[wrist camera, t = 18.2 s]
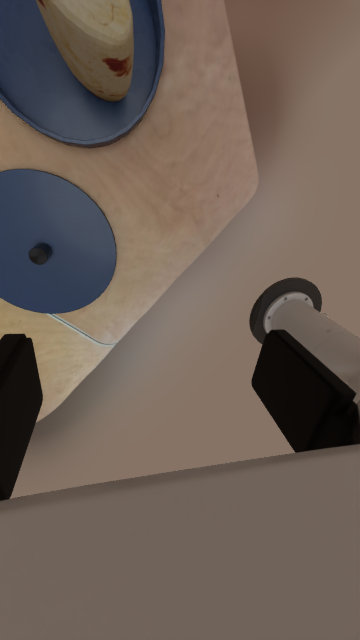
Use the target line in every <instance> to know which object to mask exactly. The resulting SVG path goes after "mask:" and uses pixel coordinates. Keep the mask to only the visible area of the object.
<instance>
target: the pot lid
mask: <svg viewBox="0 0 360 640" xmlns="http://www.w3.org/2000/svg"><path fill="white" fill-rule="evenodd" d="M115 265H116V244H115V239H114V235H113V232H112V230H111V227H110V225H109V223H108V221H107V219H106V217H105V216H104V214H103V212H102V211H101V209H100V208H99V207H98V206H97V204H96V203H95V202H94V201H93V200H92V199H91V198H90V197H89V196H88V195H87V194H86V193H85V192H83V191H82V190H81V189H79V188H78V187H77V186H75V185H74V184H72V183H70V182H69V181H67V180H65V179H63V178H61V177H58V176H56V175H53V174H50V173H47V172H43V171H38V170H32V169H14V170H7V171H3V172H0V298H2V299H4V300H5V301H7V302H9V303H11V304H13V305H15V306H17V307H20V308H23V309H26V310H30V311H33V312H39V313H49V314H56V313H66V312H71V311H74V310H78V309H80V308H82V307H85V306H87V305H88V304H90V303H92V302H93V301H94V300H96V299H97V298H98V297H99V296H100V295H101V294H102V293H103V292H104V291H105V289H106V288H107V286H108V285H109V283H110V281H111V279H112V276H113V274H114V270H115Z"/></svg>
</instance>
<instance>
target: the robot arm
mask: <svg viewBox="0 0 360 640" xmlns="http://www.w3.org/2000/svg"><path fill="white" fill-rule="evenodd" d="M263 326H264V329H265V331H266V333H267V334H266V336H265V338H264V342H263V345H262V348H261V351H260V355H259V358H258V361H257V365H256V367H255V371H254V374H253V377H252V387H253V388H254V390H255V392H256V393H257V395H258V396H259V398H260V399H261V401H262V402H263V404H264V405H265V407H266V409H267V410H268V411H269V413H270V415H271V416H272V418H273V419H274V421H275V422H276V424H277V425H278V427H279V428H280V430H281V432H282V433H283V435H284V436H285V438H286V439H287V441H288V442H289V444H290V445H291V447H292V448H293V450H294V451H295V453H292V454H285V455H278V456H271V457H265V458H258V459H251V460H245V461H238V462H231V463H225V464H218V465H212V466H206V467H200V468H192V469H186V470H179V471H173V472H167V473H161V474H154V475H148V476H141V477H135V478H130V479H123V480H116V481H110V482H104V483H98V484H92V485H85V486H79V487H74V488H68V489H62V490H57V491H51V492H45V493H39V494H34V495H28V496H22V497H17V498H12V499H9V498H10V497H11V494H12V491H13V488H14V485H15V482H16V480H17V477H18V474H19V471H20V468H21V465H22V461H23V458H24V456H25V453H26V450H27V447H28V444H29V441H30V438H31V435H32V432H33V429H34V426H35V423H36V420H37V417H38V414H39V411H40V408H41V405H42V400H43V394H42V389H41V384H40V378H39V373H38V368H37V363H36V358H35V352H34V347H33V342H32V339H31V338H26V336H25V334H5V335H4V336H3V337H2V338H1V340H0V640H360V338H359V337H357V336H355V335H354V334H352V333H351V332H349V331H348V330H346V329H345V328H343V327H342V326H340V325H338V324H337V323H336V322H334V321H332V320H331V319H329V318H328V317H327V315H326V313H320V312H319V311H317V310H316V309H314V308H313V303H312V300H311V299H310V298H309V297H308V296H307V295H305V294H304V293H301V292H288V293H286V294H283V295H281V296H279V297H278V298H277V299H275V300H274V301H273V302H272V303H271V304H270V306H269V307H268V308H267V310H266V312H265V315H264V319H263ZM346 383H347V384H348V385H347V384H346Z"/></svg>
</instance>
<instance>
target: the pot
mask: <svg viewBox="0 0 360 640" xmlns="http://www.w3.org/2000/svg"><path fill="white" fill-rule="evenodd" d="M129 2H130V6H131V11H132V16H133V37H134V55H133V69H132V78H131V84H130V87H129V90H128V92H127V94H126V96H125V97H123V98H122V99H121V100H119V101H115V102H109V101H105V100H102V99H100V98H97V97H96V96H95V95H94V94H92V93H91V92H90V91H89V90H88V89H87V88H86V87H85V86H84V85H83V84H82V83H81V82H80V81H79V80H78V79H77V78H76V77H75V76H74V75H73V73H72V72H71V70H70V68H69V67H68V65H67V64H66V62H65V60H64V59H63V57H62V55H61V53H60V52H59V50H58V48H57V46H56V44H55V42H54V40H53V38H52V36H51V34H50V32H49V30H48V28H47V26H46V23H45V21H44V19H43V16H42V14H41V12H40V10H39V7H38V5H37V2H36V0H0V99H1V100H2V101H3V103H4V104H5V105H6V106H7V107H8V108H9V109H10V110H11V111H12V112H13V113H14V114H15V115H17V116H18V117H20V118H21V119H22V120H24V121H25V122H26V123H28V124H29V125H30V126H32V127H33V128H34V129H36V130H37V131H39V132H40V133H42V134H44V135H45V136H48V137H50V138H52V139H54V140H57V141H59V142H61V143H64V144H66V145H70V146H76V147H84V148H94V147H101V146H106V145H110V144H112V143H114V142H116V141H118V140H120V139H121V138H123V137H125V136H127V135H128V134H129V133H130V132H131V131H132V130H133V129H134V128H135V127H136V126H137V125H138V124H139V123H140V121H141V120H142V118H143V116H144V115H145V113H146V111H147V109H148V107H149V105H150V103H151V102H152V99H153V97H154V95H155V93H156V89H157V85H158V82H159V78H160V74H161V70H162V67H163V57H164V39H165V28H164V20H163V12H162V4H161V0H129Z"/></svg>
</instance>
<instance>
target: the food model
mask: <svg viewBox="0 0 360 640" xmlns="http://www.w3.org/2000/svg"><path fill="white" fill-rule="evenodd" d="M36 2H37V5H38V7H39V10H40V12H41V14H42V16H43V19H44V21H45V23H46V26H47V28H48V30H49V32H50V34H51V36H52V38H53V40H54V42H55V44H56V46H57V48H58V50H59V52H60V53H61V55H62V57H63V59H64V60H65V62H66V64H67V65H68V67H69V68H70V70H71V72H72V73H73V75H74V76H75V77H76V78H77V79H78V80H79V81H80V82H81V83H82V84H83V85H84V86H85V87H86V88H87V89H88V90H89V91H90V92H91V93H92V94H94V95H95V96H96V97H97V98H100V99H102V100H105V101H109V102H115V101H119V100H121V99H122V98H123V97H125V96H126V94H127V92H128V90H129V87H130V84H131V78H132V69H133V55H134V37H133V16H132V11H131V6H130V2H129V0H36Z"/></svg>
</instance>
